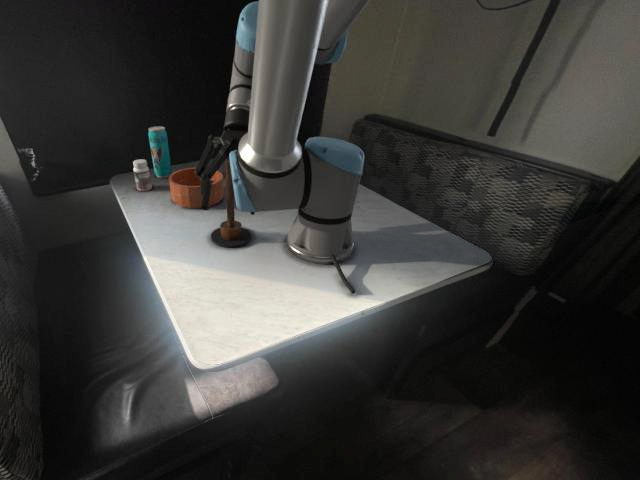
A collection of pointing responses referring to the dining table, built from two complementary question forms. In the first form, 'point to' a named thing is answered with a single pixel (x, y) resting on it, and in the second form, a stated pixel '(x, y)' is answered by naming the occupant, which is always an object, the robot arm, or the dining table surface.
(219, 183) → the bowl
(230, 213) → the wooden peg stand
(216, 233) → the disc
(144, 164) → the pill bottle
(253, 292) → the dining table surface
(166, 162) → the beverage can
